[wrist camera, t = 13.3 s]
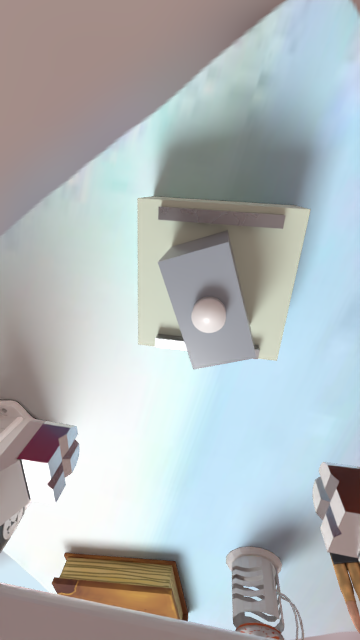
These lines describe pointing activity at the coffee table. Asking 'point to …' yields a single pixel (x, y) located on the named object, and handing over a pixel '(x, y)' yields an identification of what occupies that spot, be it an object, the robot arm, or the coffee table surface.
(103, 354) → the coffee table surface
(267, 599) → the french press
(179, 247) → the block
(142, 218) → the stand
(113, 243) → the coffee table surface
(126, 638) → the robot arm
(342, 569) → the ammunition clip
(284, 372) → the coffee table surface
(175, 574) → the diary
